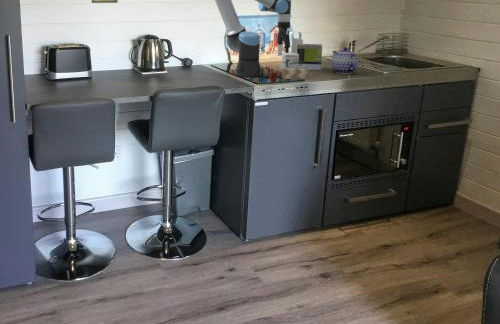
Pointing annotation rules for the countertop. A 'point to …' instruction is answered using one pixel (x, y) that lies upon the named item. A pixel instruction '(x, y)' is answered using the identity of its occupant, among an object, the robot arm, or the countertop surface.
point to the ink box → (290, 61)
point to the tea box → (309, 56)
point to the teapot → (344, 61)
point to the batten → (296, 73)
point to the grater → (294, 42)
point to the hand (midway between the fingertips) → (283, 57)
